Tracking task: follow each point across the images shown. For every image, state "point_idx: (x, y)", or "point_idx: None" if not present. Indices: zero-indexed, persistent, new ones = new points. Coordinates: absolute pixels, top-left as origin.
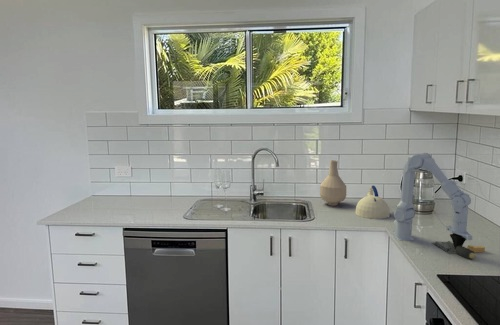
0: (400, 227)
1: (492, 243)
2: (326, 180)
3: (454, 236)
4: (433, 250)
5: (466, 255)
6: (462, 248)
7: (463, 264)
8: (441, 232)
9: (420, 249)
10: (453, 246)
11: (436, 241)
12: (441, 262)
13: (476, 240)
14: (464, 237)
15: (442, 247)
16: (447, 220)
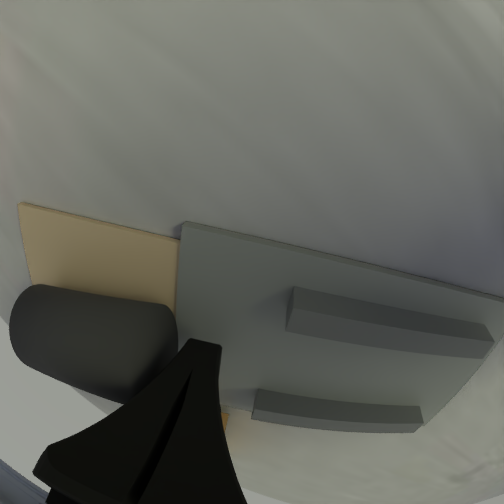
0: None
1: (287, 499)
2: None
3: (70, 492)
4: (399, 158)
5: (30, 291)
6: (64, 354)
7: (2, 180)
8: (500, 439)
9: (474, 38)
10: (344, 405)
11: (488, 349)
12: (54, 8)
13: (346, 490)
14: (14, 475)
15: (383, 311)
16: (500, 473)
